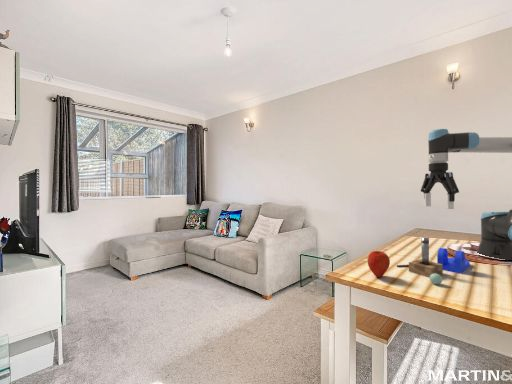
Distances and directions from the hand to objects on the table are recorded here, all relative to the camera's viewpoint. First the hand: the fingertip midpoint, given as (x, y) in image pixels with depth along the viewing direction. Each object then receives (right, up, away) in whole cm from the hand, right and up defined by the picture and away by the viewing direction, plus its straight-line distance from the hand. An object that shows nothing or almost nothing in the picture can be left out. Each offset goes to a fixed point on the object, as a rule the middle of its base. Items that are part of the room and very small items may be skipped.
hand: (438, 207), depth 120 cm
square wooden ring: (-14, -27, -11) cm, 33 cm away
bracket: (+4, -27, -5) cm, 28 cm away
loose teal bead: (-18, -28, -23) cm, 41 cm away
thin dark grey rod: (-14, -27, -3) cm, 31 cm away
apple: (-35, -28, -14) cm, 48 cm away
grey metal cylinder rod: (-14, -27, -11) cm, 33 cm away
